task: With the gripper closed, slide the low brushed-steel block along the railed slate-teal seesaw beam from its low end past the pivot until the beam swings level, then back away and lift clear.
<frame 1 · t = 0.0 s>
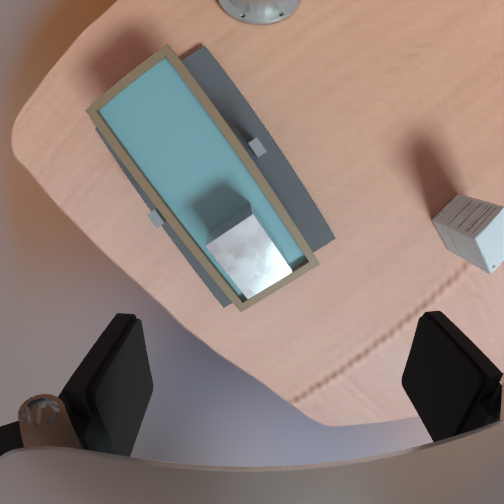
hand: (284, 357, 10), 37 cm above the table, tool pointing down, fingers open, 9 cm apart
supplement box: (452, 221, 47), on the table
beam: (205, 183, 36), point 8 cm above the table, hinge at 6.4°, touching steel block
steel block: (247, 242, 39), point 8 cm above the table, tilted 6°, touching beam
stand: (213, 177, 44), on the table
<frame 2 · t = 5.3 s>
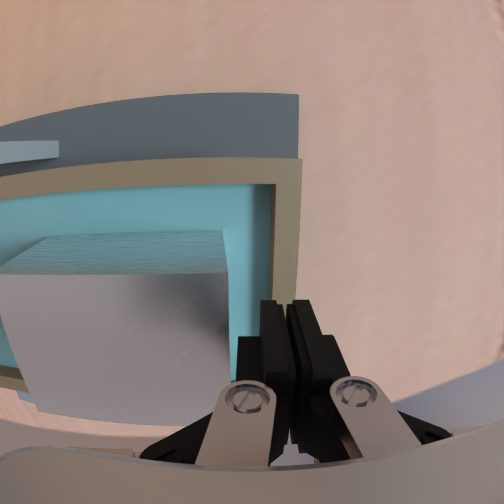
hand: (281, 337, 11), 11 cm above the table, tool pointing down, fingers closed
steel block: (136, 296, 14), point 8 cm above the table, tilted 6°, touching beam, gripper
stand: (64, 246, 21), on the table
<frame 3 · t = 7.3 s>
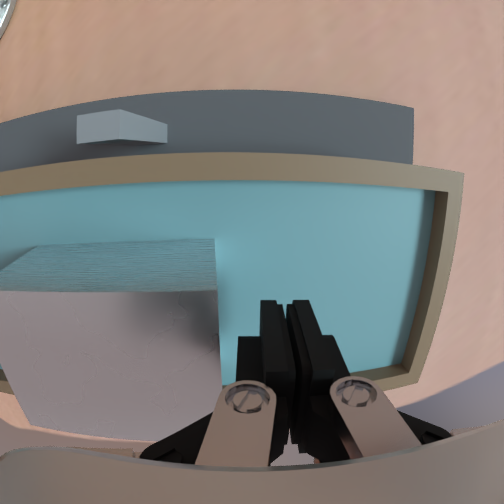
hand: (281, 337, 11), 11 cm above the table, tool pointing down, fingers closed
beam: (115, 293, 13), point 8 cm above the table, hinge at 6.3°, touching steel block
steel block: (127, 307, 13), point 9 cm above the table, tilted 6°, touching beam
stand: (160, 242, 22), on the table
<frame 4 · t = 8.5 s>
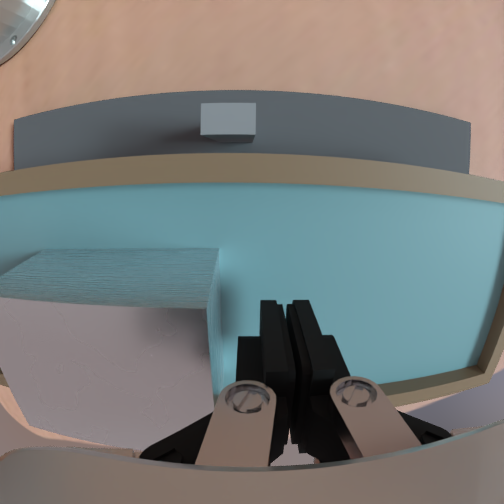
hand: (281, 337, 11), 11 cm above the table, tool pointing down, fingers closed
beam: (228, 299, 13), point 8 cm above the table, hinge at 1.3°, touching steel block
steel block: (130, 314, 13), point 9 cm above the table, touching beam
stand: (235, 243, 22), on the table
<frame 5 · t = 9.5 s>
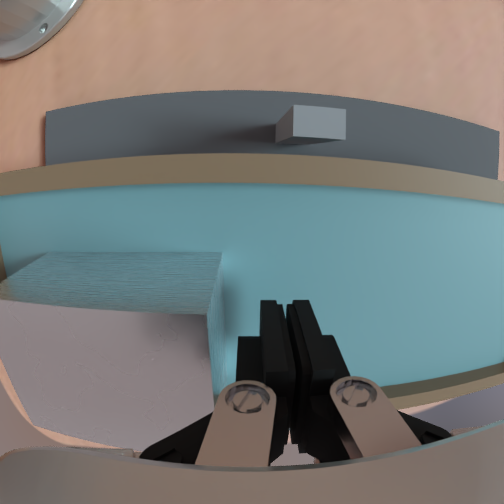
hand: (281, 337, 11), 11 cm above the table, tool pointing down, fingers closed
beam: (307, 299, 14), point 8 cm above the table, hinge at -0.2°, touching steel block
steel block: (135, 317, 13), point 9 cm above the table, touching beam, gripper
stand: (285, 244, 22), on the table
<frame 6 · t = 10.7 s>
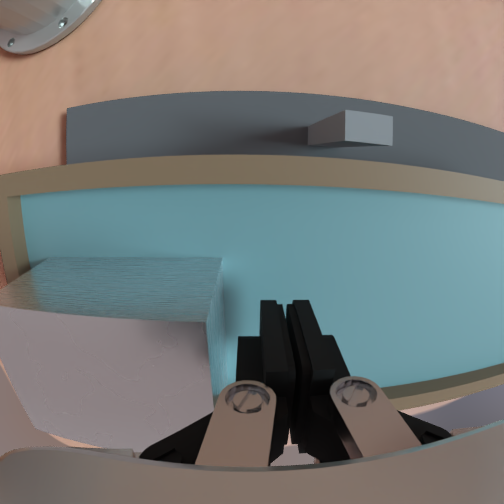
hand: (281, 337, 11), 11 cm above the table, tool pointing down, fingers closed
beam: (351, 300, 14), point 8 cm above the table, hinge at -0.4°, touching steel block
steel block: (135, 321, 13), point 9 cm above the table, touching beam, gripper
stand: (314, 245, 22), on the table
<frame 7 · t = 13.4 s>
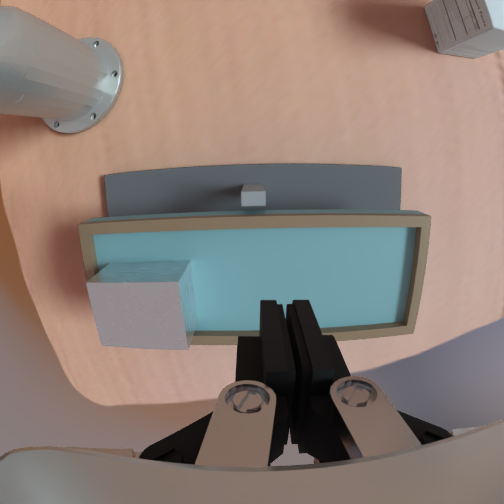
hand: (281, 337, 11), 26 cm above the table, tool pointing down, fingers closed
supplement box: (449, 33, 28), on the table
beam: (255, 279, 29), point 8 cm above the table, hinge at -0.4°, touching steel block
steel block: (153, 292, 29), point 9 cm above the table, touching beam
stand: (255, 252, 37), on the table
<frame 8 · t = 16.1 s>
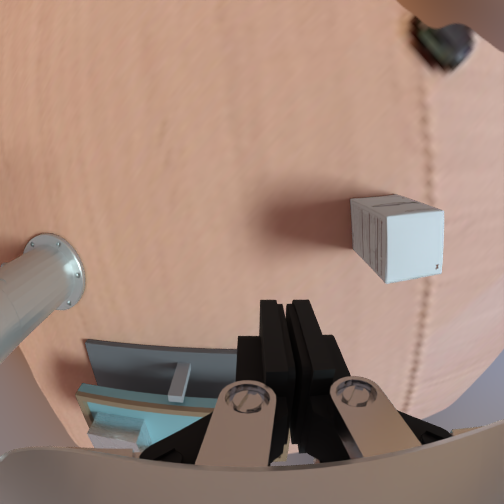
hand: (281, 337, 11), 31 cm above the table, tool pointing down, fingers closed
supplement box: (374, 221, 42), on the table
beam: (182, 429, 42), point 8 cm above the table, hinge at -0.4°, touching steel block
steel block: (125, 428, 42), point 9 cm above the table, touching beam
stand: (190, 394, 50), on the table
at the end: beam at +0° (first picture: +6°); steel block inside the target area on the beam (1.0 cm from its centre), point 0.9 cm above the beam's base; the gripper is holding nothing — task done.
